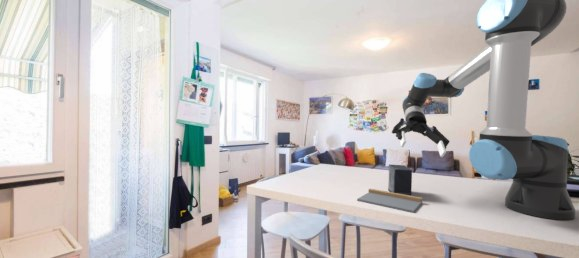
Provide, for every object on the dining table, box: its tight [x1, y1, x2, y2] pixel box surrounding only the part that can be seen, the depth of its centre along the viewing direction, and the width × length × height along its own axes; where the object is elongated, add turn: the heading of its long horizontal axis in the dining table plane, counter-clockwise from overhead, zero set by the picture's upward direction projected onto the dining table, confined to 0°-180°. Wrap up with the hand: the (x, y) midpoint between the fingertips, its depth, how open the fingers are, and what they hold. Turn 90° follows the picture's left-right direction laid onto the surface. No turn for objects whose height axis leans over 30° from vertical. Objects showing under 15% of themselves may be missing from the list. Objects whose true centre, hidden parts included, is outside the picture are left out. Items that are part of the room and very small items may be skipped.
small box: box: [387, 164, 413, 196], centre depth 93 cm, size 11×6×10 cm, turn 168°
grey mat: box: [356, 188, 423, 214], centre depth 84 cm, size 18×12×2 cm, turn 50°
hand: (423, 149), depth 86 cm, fingers open, 13 cm apart
